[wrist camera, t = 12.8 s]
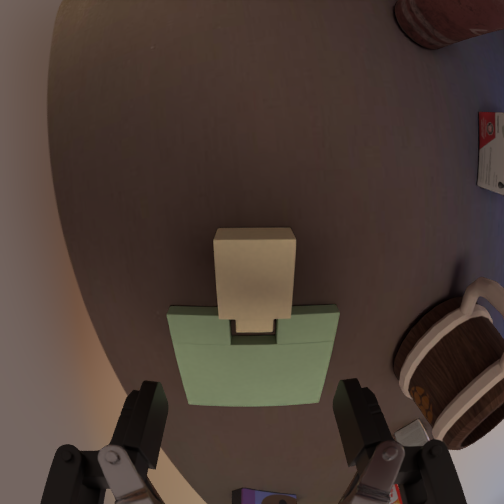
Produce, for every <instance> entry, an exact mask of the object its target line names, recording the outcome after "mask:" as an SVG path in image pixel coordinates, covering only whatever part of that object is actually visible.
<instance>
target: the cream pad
mask: <svg viewBox="0 0 504 504" xmlns="http://www.w3.org/2000/svg"><path fill="white" fill-rule="evenodd" d="M213 245H214V261H215V276H216V290H217V303H218V315H219V319H236V332H273V319H290V318H291V310H292V297H293V284H294V270H295V254H296V238H295V236H294V234H293V232H292V230H291V228H218V229H217V232H216V235H215V237H214V240H213Z"/></svg>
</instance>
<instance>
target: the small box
mask: <svg viewBox="0 0 504 504" xmlns="http://www.w3.org/2000/svg"><path fill="white" fill-rule="evenodd" d="M394 434H395V437H396V440H397V442H399V443H400V444H401V445H403V446H423V445H424V444H425V443H426V442H428V441H430V439H429V437H428V435H427V433H426V430H425V428H424V427H423V426H422V424H421V422H420V420H419V419H417V420H415V421H414V422H412V423H411V424H409V425H407V426H406V427H404V428H402V429H400V430H399V431H397V432H395V433H394Z"/></svg>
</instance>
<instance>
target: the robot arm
mask: <svg viewBox="0 0 504 504" xmlns="http://www.w3.org/2000/svg"><path fill="white" fill-rule="evenodd" d="M333 411H334V414H335V418H336V422H337V425H338V429H339V433H340V436H341V440H342V444H343V448H344V452H345V455H346V459H347V463H348V467H350V466H355V465H356V467H357V472H356V474H355V475H354V477H353V479H352V481H351V483H350V484H349V486H348V488H347V490H346V491H345V493H344V495H343V496H342V498H341V499H340V501H339V502H338V504H389V502H390V499H391V497H390V496H389V494H390V491H391V489H392V487H393V485H394V484H398V487H399V491H400V495H401V500H402V504H467V503H466V499H465V496H464V493H463V490H462V486H461V483H460V481H459V478H458V475H457V472H456V469H455V466H454V464H453V461H452V459H451V456H450V453H449V451H448V448H447V446H446V444H445V443H444V442H442V441H441V440H437V439H433V440H430V441H428V442H426V443H425V444H424V445H423V446H403V445H401V444H400V443H399V442H397V441H395V440H394V439H393V438H392V436H391V433H390V431H389V428H388V426H387V423H386V421H385V418H384V416H383V413H382V412H381V408H380V406H379V405H378V401H377V399H376V397H375V394H374V393H373V392H372V391H371V390H370V389H368V388H367V387H366V388H361V386H360V384H359V381H358V379H357V378H353V379H346V380H340V382H339V384H338V387H337V390H336V393H335V396H334V399H333ZM167 415H168V401H167V398H166V395H165V393H164V390H163V387H162V384H161V383H160V382H154V381H143V383H142V386H141V388H140V391H137V390H133V391H132V392H131V393H130V394H129V395H128V397H127V398H126V401H125V403H124V406H123V409H122V411H121V416H120V417H119V420H118V422H117V426H116V428H115V431H114V434H113V437H112V440H111V442H110V444H109V445H107V446H105V447H103V448H102V449H101V450H98V451H79V450H78V449H77V448H76V447H75V446H73V445H69V444H66V445H62V446H60V447H59V448H58V449H57V451H56V453H55V456H54V459H53V462H52V465H51V468H50V471H49V475H48V478H47V482H46V485H45V489H44V492H43V496H42V500H41V504H103V503H104V497H105V492H106V489H111V491H112V493H113V495H114V497H115V499H116V501H115V504H165V503H164V502H163V500H162V499H161V497H160V496H159V494H158V493H157V491H156V489H155V488H154V486H153V485H152V483H151V481H150V480H149V478H148V477H147V472H148V468H150V469H156V465H157V460H158V456H159V451H160V446H161V441H162V437H163V432H164V428H165V423H166V419H167Z"/></svg>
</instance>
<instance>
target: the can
mask: <svg viewBox="0 0 504 504" xmlns="http://www.w3.org/2000/svg"><path fill="white" fill-rule="evenodd" d="M395 15H396V19H397V21H398V23H399V25H400V27H401V29H402V30H403V31H404V32H405V33H406V35H407V36H408V37H410V38H411V39H412V40H413V41H414V42H416V43H418V44H419V45H421V46H424V47H427V48H429V49H439V48H442V47H445V46H448V45H450V44H453V43H456V42H459V41H462V40H466V39H469V38H472V37H475V36H479V35H482V34H486V33H490V32H493V31H497V30H502V29H504V0H398V2H397V3H396V4H395Z"/></svg>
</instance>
